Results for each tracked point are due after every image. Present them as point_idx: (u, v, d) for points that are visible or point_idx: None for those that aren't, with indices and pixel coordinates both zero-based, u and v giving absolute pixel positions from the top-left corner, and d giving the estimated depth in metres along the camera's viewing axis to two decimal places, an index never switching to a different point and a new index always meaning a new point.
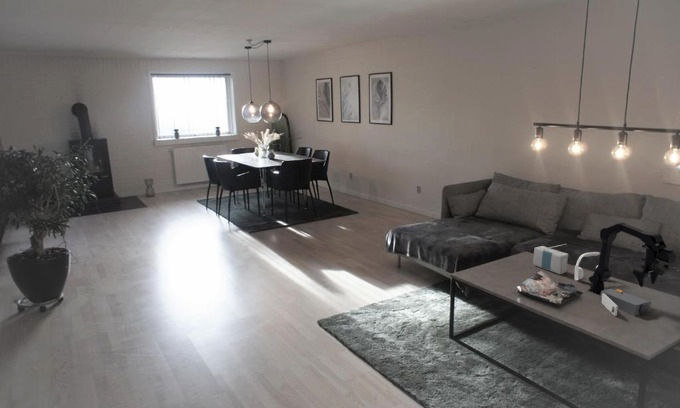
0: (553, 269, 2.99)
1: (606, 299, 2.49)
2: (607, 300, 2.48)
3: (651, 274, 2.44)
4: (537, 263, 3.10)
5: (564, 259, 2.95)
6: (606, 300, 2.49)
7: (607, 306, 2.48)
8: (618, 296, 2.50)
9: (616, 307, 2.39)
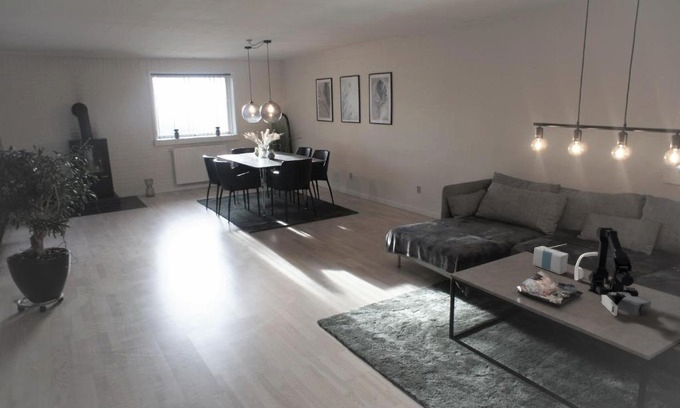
0: (553, 269, 2.99)
1: (606, 299, 2.49)
2: (607, 300, 2.48)
3: None
4: (537, 263, 3.10)
5: (564, 259, 2.95)
6: (606, 300, 2.49)
7: (607, 306, 2.48)
8: None
9: (616, 307, 2.39)
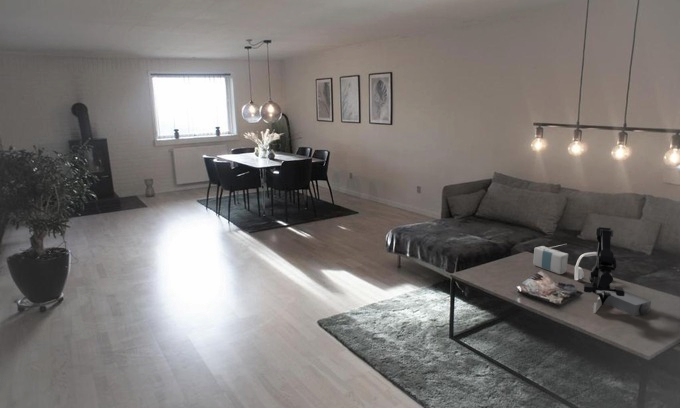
0: (553, 269, 2.99)
1: None
2: None
3: (602, 297, 2.45)
4: (537, 263, 3.10)
5: (564, 259, 2.95)
6: None
7: None
8: (618, 296, 2.50)
9: (595, 304, 2.43)
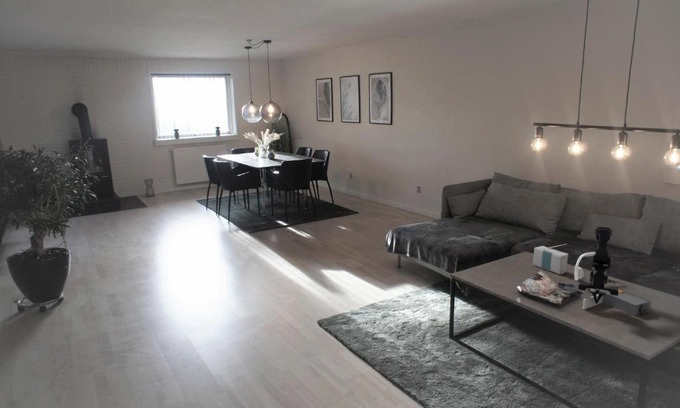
0: (553, 269, 2.99)
1: None
2: None
3: None
4: (537, 263, 3.10)
5: (564, 259, 2.95)
6: None
7: None
8: (618, 296, 2.50)
9: (584, 300, 2.47)
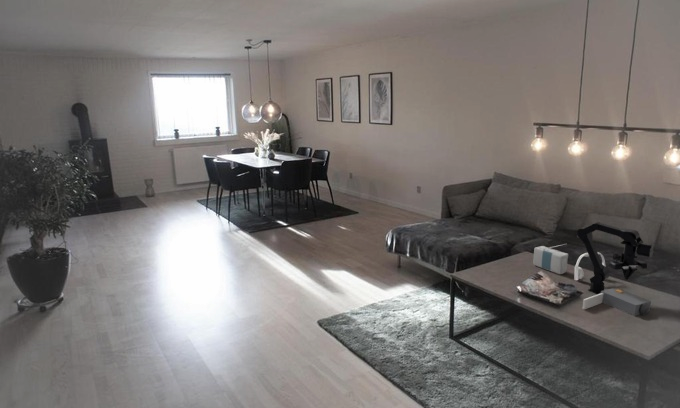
0: (553, 269, 2.99)
1: None
2: None
3: None
4: (537, 263, 3.10)
5: (564, 259, 2.95)
6: None
7: None
8: (618, 296, 2.50)
9: (584, 300, 2.47)
